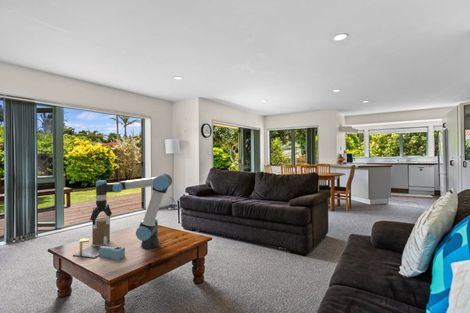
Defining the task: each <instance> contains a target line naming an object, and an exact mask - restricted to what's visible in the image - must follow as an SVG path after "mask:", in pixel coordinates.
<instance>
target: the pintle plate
mask: <svg viewBox="0 0 470 313" xmlns="http://www.w3.org/2000/svg"><path fill="white" fill-rule="evenodd" d="M89 242H90V239H89V237H86V238H80V239H79V251H78V252H76V253H73V254H72V257H79V258H87V259H96V258H98V257H100V247H101V246H97V245H91V246H88V247H87V248H85V249H83V244H84V243H89ZM103 246H107V247H108V242H107V237H104V243H103Z"/></svg>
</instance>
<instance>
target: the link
mask: <svg viewBox="0 0 470 313" xmlns="http://www.w3.org/2000/svg"><path fill="white" fill-rule="evenodd" d="M125 256H126V247H125V246H118V245H117V246H115V247H114V246H108V245H107V246H104V245H102V246H100V256H99V257H101V258H108V259H109V258H110V260H115V261H119V260H121V259H122V258H124V257H125Z"/></svg>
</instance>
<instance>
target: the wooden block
mask: <svg viewBox="0 0 470 313" xmlns="http://www.w3.org/2000/svg"><path fill="white" fill-rule="evenodd" d="M96 220H97V229H93V228H92V231H91V232H92V233H91V234H92V239H91V240H92V242H91V243H92V244H96V245H104V237H107V243H108V242H110V240H111V239H110V238H111V235H110V234H111V233H110V232H111V231H110V230H111V227H110V226H111V223H110V224H106V218H98V219H97V218H96Z"/></svg>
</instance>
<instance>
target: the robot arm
mask: <svg viewBox="0 0 470 313" xmlns="http://www.w3.org/2000/svg"><path fill="white" fill-rule="evenodd" d="M172 183H173V178H172V177H171V175H170V174H168V173H163V174H158V175H156V176H154V177H148V178H137V179H130V180H121V181H120V180H119V181H116V182H107V180H96V182H95V191H96V192H95V205H96V206H95V207H94V206H93V210H92V213H91V215H90V218H89V220H90V221H92V223H91V224H92V230H93V229H97V218H98V217H99V214H100V213H101V212H104V214H105V215H106V216H105V219H106V224H110V225H111V216H112V215H113V213H112V211H111V208H110V205H109V204H107V197H108V196H107V193H121V192H122V191H126V190H135V189H141V188H151V187H152V188H151V190H152V194H151V196H150V200H149V203H148V206H147V208H146V212H145V215H144V217H143V219H142V220H140V223H139V226H138V227H137V228H136V230H135V236H136V238H137V239H138V240H139V241H141V243H140V247H141V249H145V250H151V249H155V248H158V247H160V244H161V243H160V238H159V234H158V232H159V231H158V228H159V226H158V224H159V221H158V219H157V215H158V213H159V209H160V207H161V203H162V200H163V197H164V195H165V194H167V192H168V189H169V187H170V186H171V185H172Z"/></svg>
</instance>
